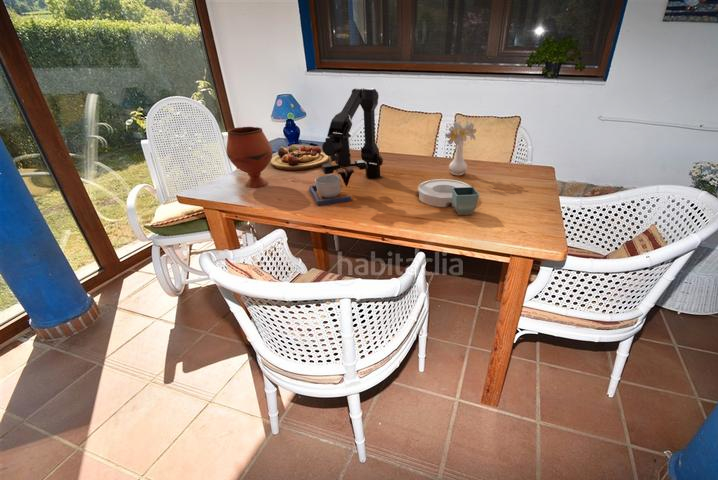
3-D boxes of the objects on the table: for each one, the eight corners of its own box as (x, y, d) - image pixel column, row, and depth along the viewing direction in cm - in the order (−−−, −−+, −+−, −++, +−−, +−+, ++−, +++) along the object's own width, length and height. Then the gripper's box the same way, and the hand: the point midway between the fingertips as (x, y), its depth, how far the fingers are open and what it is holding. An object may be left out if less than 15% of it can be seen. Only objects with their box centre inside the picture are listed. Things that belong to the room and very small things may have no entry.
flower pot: (449, 208, 144) (451, 187, 139) (471, 207, 145) (473, 186, 140) (454, 217, 137) (456, 195, 132) (477, 216, 137) (479, 194, 132)
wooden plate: (312, 173, 183) (310, 157, 178) (258, 168, 191) (255, 152, 186) (338, 156, 209) (337, 142, 204) (290, 153, 216) (288, 138, 212)
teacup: (336, 201, 151) (334, 183, 146) (312, 199, 153) (310, 181, 149) (348, 190, 162) (346, 172, 158) (326, 188, 164) (323, 171, 160)
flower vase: (440, 177, 176) (443, 124, 163) (450, 167, 190) (454, 117, 177) (465, 181, 172) (471, 126, 158) (474, 170, 186) (480, 119, 173)
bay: (339, 185, 167) (339, 182, 166) (350, 200, 152) (350, 196, 151) (309, 189, 163) (309, 185, 162) (317, 205, 147) (317, 201, 146)
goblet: (282, 186, 167) (272, 130, 153) (239, 194, 158) (224, 135, 145) (272, 175, 180) (262, 123, 167) (232, 181, 172) (218, 127, 159)
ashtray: (406, 197, 154) (406, 188, 152) (438, 184, 169) (438, 175, 167) (451, 211, 141) (452, 202, 139) (481, 195, 156) (482, 186, 154)
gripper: (358, 143, 159) (361, 177, 167) (317, 148, 153) (321, 183, 161) (366, 149, 150) (368, 185, 158) (322, 154, 144) (327, 191, 153)
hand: (346, 185), depth 158 cm, fingers closed
